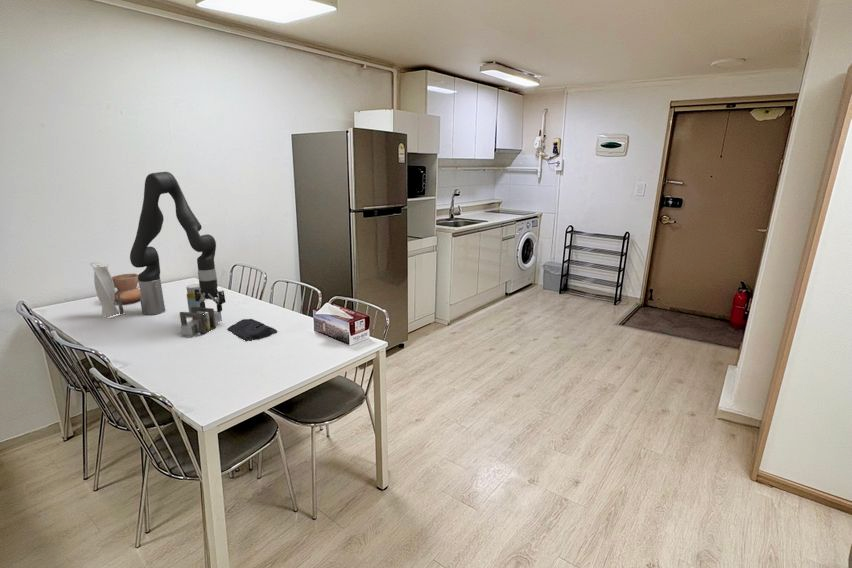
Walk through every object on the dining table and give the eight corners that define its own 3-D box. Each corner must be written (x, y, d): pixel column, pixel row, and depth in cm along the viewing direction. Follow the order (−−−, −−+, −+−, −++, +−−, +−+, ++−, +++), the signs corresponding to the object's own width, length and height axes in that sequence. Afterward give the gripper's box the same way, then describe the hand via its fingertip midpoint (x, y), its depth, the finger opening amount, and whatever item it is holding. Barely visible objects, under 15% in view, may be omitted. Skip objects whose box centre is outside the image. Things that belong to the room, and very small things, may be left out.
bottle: (208, 312, 222) (204, 284, 218) (199, 317, 216) (195, 288, 211) (195, 311, 223) (191, 283, 219) (186, 316, 216) (182, 287, 212)
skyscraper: (108, 319, 212) (97, 263, 204) (96, 317, 214) (85, 262, 206) (125, 314, 219) (115, 259, 212) (113, 312, 222) (102, 258, 214)
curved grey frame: (182, 332, 197) (179, 312, 194) (195, 325, 205) (192, 306, 202) (204, 334, 195) (201, 314, 192) (216, 327, 203) (213, 308, 200)
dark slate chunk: (256, 321, 212) (255, 312, 211) (279, 333, 198) (279, 324, 197) (224, 330, 201) (223, 320, 200) (247, 343, 187) (246, 333, 186)
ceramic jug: (142, 294, 249) (138, 270, 245) (151, 300, 239) (147, 275, 235) (105, 302, 236) (99, 276, 232) (112, 308, 226) (107, 282, 222)
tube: (192, 337, 192) (191, 326, 191) (182, 336, 193) (181, 325, 192) (222, 321, 211) (220, 311, 210) (212, 320, 212) (211, 310, 211)
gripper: (188, 278, 201) (192, 312, 205) (216, 281, 198) (219, 315, 203) (199, 274, 208) (203, 306, 212) (226, 277, 205) (229, 309, 210)
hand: (211, 310), depth 208 cm, fingers open, 8 cm apart
